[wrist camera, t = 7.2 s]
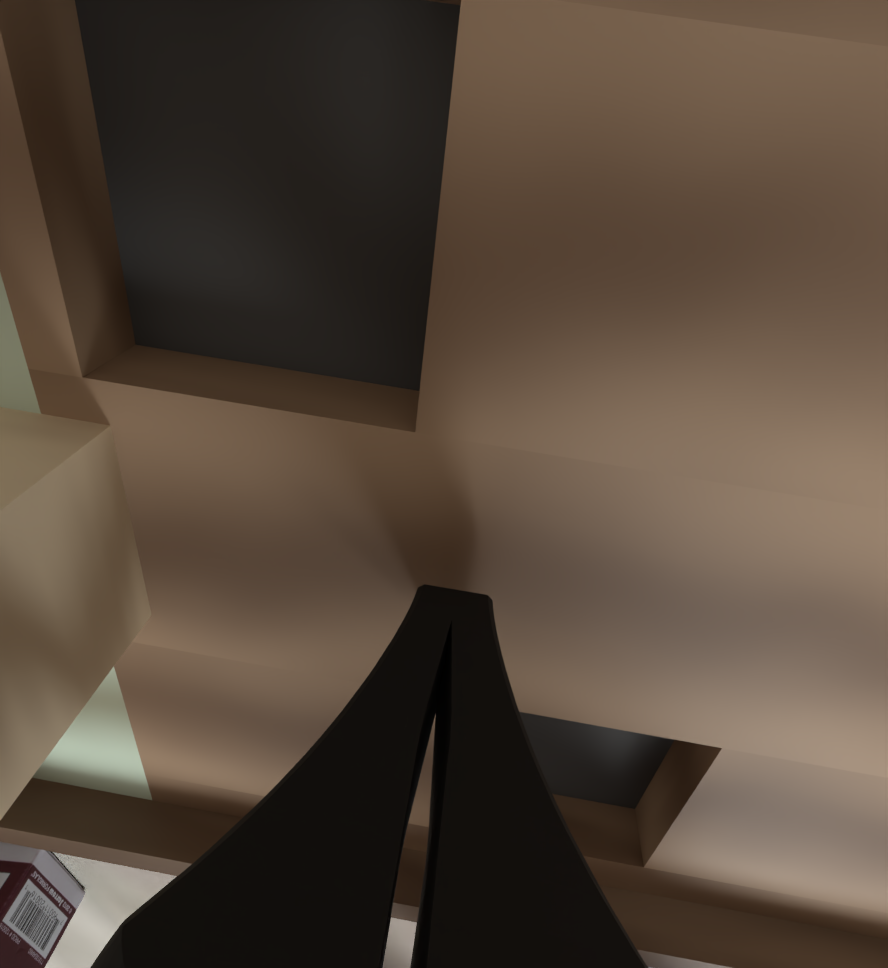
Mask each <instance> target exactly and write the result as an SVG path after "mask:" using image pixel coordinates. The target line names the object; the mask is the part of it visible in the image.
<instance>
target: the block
mask: <svg viewBox="0 0 888 968" xmlns="http://www.w3.org/2000/svg"><path fill="white" fill-rule="evenodd" d="M150 616H151V610H150V605H149V601H148V596H147V591H146V587H145V582H144V578H143V573H142V568H141V564H140V559H139V555H138V550H137V545H136V541H135V536H134V532H133V527H132V522H131V518H130V513H129V509H128V504H127V499H126V495H125V490H124V486H123V481H122V476H121V472H120V467H119V462H118V458H117V453H116V449H115V444H114V439H113V435H112V430H111V426H110V425H104V424H98V423H92V422H86V421H80V420H75V419H69V418H63V417H57V416H51V415H45V414H39V413H33V412H27V411H21V410H15V409H9V408H3V407H0V820H1V819H2V818H3V816H4V815H5V813H6V812H7V811H8V809H9V808H10V807H11V805H12V804H13V803H14V801H15V800H16V799H17V797H18V796H19V794H20V793H21V792H22V790H23V789H24V788H25V786H26V785H27V784H28V782H29V781H30V780H31V778H32V777H33V775H34V774H35V773H36V771H37V770H38V769H39V767H40V766H41V765H42V763H43V762H44V760H45V759H46V758H47V756H48V755H49V754H50V752H51V751H52V750H53V748H54V747H55V746H56V744H57V743H58V741H59V740H60V739H61V737H62V736H63V735H64V733H65V732H66V731H67V729H68V728H69V727H70V725H71V724H72V722H73V721H74V720H75V718H76V717H77V716H78V714H79V713H80V712H81V710H82V709H83V707H84V706H85V705H86V703H87V702H88V701H89V699H90V698H91V697H92V695H93V694H94V693H95V691H96V690H97V688H98V687H99V686H100V684H101V683H102V682H103V680H104V679H105V678H106V676H107V675H108V674H109V672H110V671H111V669H112V668H113V667H114V665H115V664H116V663H117V661H118V660H119V659H120V657H121V656H122V654H123V653H124V652H125V650H126V649H127V648H128V646H129V645H130V644H131V642H132V641H133V640H134V638H135V637H136V635H137V634H138V633H139V631H140V630H141V629H142V627H143V626H144V625H145V623H146V622H147V621H148V619H149V618H150Z"/></svg>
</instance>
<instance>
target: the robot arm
mask: <svg viewBox="0 0 888 968" xmlns="http://www.w3.org/2000/svg"><path fill="white" fill-rule="evenodd" d="M435 714H436V716H435ZM434 718H435V732H434V748H433V764H432V781H431V798H430V814H429V831H428V842H427V853H426V862H425V869H424V877H423V884H422V891H421V898H420V905H419V912H418V919H417V926H416V933H415V940H414V947H413V954H412V961H411V968H651V967H648V966H647V965H646V963H645V962H644V960H643V959H642V957H641V955H640V954H639V952H638V951H637V949H636V947H635V946H634V944H633V942H632V941H631V939H630V937H629V936H628V934H627V932H626V931H625V929H624V927H623V926H622V924H621V922H620V921H619V919H618V917H617V916H616V914H615V912H614V911H613V909H612V907H611V906H610V904H609V902H608V900H607V899H606V897H605V895H604V893H603V891H602V889H601V888H600V886H599V884H598V882H597V880H596V878H595V877H594V875H593V873H592V871H591V869H590V867H589V866H588V864H587V862H586V860H585V858H584V856H583V855H582V853H581V851H580V849H579V847H578V845H577V844H576V842H575V840H574V838H573V836H572V834H571V832H570V830H569V828H568V826H567V824H566V822H565V820H564V818H563V815H562V813H561V811H560V809H559V807H558V805H557V803H556V801H555V799H554V797H553V794H552V792H551V790H550V788H549V785H548V783H547V781H546V779H545V777H544V774H543V772H542V770H541V767H540V765H539V762H538V760H537V758H536V755H535V753H534V750H533V748H532V745H531V742H530V740H529V737H528V734H527V732H526V729H525V726H524V724H523V721H522V718H521V715H520V712H519V710H518V707H517V704H516V701H515V697H514V694H513V691H512V688H511V684H510V681H509V678H508V675H507V671H506V668H505V664H504V660H503V657H502V653H501V648H500V644H499V640H498V635H497V630H496V625H495V619H494V611H493V600H492V599H491V598H490V597H489V596H488V595H485V594H479V593H473V592H468V591H462V590H456V589H450V588H444V587H438V586H432V585H426V584H424V585H422V586H420V587H418V588H417V591H416V594H415V597H414V599H413V601H412V604H411V606H410V608H409V610H408V612H407V614H406V616H405V618H404V620H403V621H402V623H401V625H400V627H399V628H398V630H397V632H396V634H395V635H394V637H393V639H392V640H391V642H390V643H389V645H388V646H387V648H386V650H385V651H384V653H383V654H382V656H381V657H380V659H379V660H378V662H377V664H376V665H375V667H374V668H373V669H372V671H371V672H370V674H369V675H368V677H367V678H366V679H365V681H364V682H363V683H362V685H361V686H360V687H359V689H358V690H357V691H356V693H355V694H354V695H353V697H352V698H351V699H350V701H349V702H348V704H347V705H346V706H345V707H344V709H343V710H342V711H341V713H340V714H339V715H338V716H337V717H336V719H335V720H334V721H333V722H332V724H331V725H330V726H329V727H328V728H327V730H326V731H325V732H324V733H323V734H322V736H321V737H320V738H319V739H318V740H317V741H316V742H315V744H314V745H313V746H312V747H311V748H310V749H309V750H308V752H307V753H306V754H305V755H304V756H303V757H302V758H301V759H300V760H299V761H298V762H297V763H296V765H295V766H294V767H293V768H292V769H291V770H290V771H289V772H288V773H287V774H286V775H285V776H284V777H283V778H282V779H281V781H280V782H279V783H278V784H277V785H276V786H275V787H274V788H273V789H272V790H271V791H270V792H269V793H268V794H267V795H266V796H265V797H264V798H263V799H262V800H261V801H260V802H259V803H258V804H257V805H256V806H255V807H254V808H253V809H252V810H250V811H249V812H248V813H247V814H246V815H245V816H244V817H243V818H242V819H241V820H240V821H239V822H238V823H237V824H235V825H234V826H233V827H232V828H231V829H230V830H229V831H228V832H227V833H226V834H225V835H224V836H223V837H221V838H220V839H219V840H218V841H217V842H216V843H215V844H214V845H213V846H212V847H211V848H210V849H209V850H207V851H206V852H205V853H204V854H203V855H202V856H201V857H200V858H198V859H197V860H196V861H195V862H194V863H193V864H192V865H190V866H189V867H188V868H187V869H186V870H184V871H183V872H182V873H181V874H180V875H178V876H177V877H176V878H175V879H173V880H172V881H171V882H170V883H169V884H167V885H166V886H165V887H164V888H163V889H161V890H160V891H159V892H158V893H157V894H155V895H154V896H153V897H152V898H151V899H149V900H148V901H147V902H146V903H145V904H143V905H142V906H141V907H140V908H139V909H137V910H136V911H135V912H134V913H133V914H131V915H130V916H129V917H128V918H127V919H126V920H125V921H124V922H123V923H122V924H121V925H120V927H119V928H118V929H117V931H116V932H115V933H114V935H113V936H112V938H111V939H110V940H109V942H108V943H107V944H106V946H105V947H104V949H103V950H102V951H101V953H100V954H99V956H98V957H97V959H96V960H95V962H94V963H93V965H92V966H91V968H382V967H383V961H384V955H385V949H386V943H387V937H388V931H389V925H390V919H391V913H392V907H393V901H394V895H395V889H396V883H397V877H398V871H399V865H400V859H401V854H402V849H403V844H404V840H405V835H406V830H407V826H408V822H409V818H410V814H411V810H412V806H413V802H414V798H415V794H416V790H417V786H418V782H419V778H420V774H421V770H422V766H423V762H424V758H425V754H426V750H427V746H428V742H429V738H430V734H431V730H432V726H433V722H434Z"/></svg>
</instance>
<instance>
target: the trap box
mask: <svg viewBox="0 0 888 968" xmlns="http://www.w3.org/2000/svg"><path fill="white" fill-rule="evenodd" d="M0 407H3V408H9V409H15V410H21V411H27V412H33V413H39V414H45V415H51V416H57V417H63V418H69V419H75V420H80V421H86V422H92V423H98V424H104V425H110V426H111V430H112V435H113V439H114V444H115V449H116V453H117V458H118V462H119V467H120V472H121V476H122V481H123V486H124V490H125V495H126V499H127V504H128V509H129V513H130V518H131V522H132V527H133V532H134V536H135V541H136V545H137V550H138V555H139V559H140V564H141V568H142V573H143V578H144V582H145V587H146V591H147V596H148V601H149V605H150V610H151V616H150V618H149V619H148V621H147V622H146V623H145V625H144V626H143V627H142V629H141V630H140V631H139V633H138V634H137V635H136V637H135V638H134V640H133V641H132V642H131V644H130V645H129V646H128V648H127V649H126V650H125V652H124V653H123V654H122V656H121V657H120V659H119V660H118V661H117V663H116V664H115V665H114V667H113V668H112V669H111V671H110V672H109V674H108V675H107V676H106V678H105V679H104V680H103V682H102V683H101V684H100V686H99V687H98V688H97V690H96V691H95V693H94V694H93V695H92V697H91V698H90V699H89V701H88V702H87V703H86V705H85V706H84V707H83V709H82V710H81V712H80V713H79V714H78V716H77V717H76V718H75V720H74V721H73V722H72V724H71V725H70V727H69V728H68V729H67V731H66V732H65V733H64V735H63V736H62V737H61V739H60V740H59V741H58V743H57V744H56V746H55V747H54V748H53V750H52V751H51V752H50V754H49V755H48V756H47V758H46V759H45V760H44V762H43V763H42V765H41V766H40V767H39V769H38V770H37V771H36V773H35V774H34V775H33V777H32V778H31V780H30V781H29V782H28V784H27V785H26V786H25V788H24V789H23V790H22V792H21V793H20V794H19V796H18V797H17V799H16V800H15V801H14V803H13V804H12V805H11V807H10V808H9V809H8V811H7V812H6V813H5V815H4V816H3V818H2V819H1V820H0V842H4V843H9V844H15V845H20V846H25V847H30V848H35V849H40V850H46V851H51V852H56V853H61V854H66V855H71V856H77V857H82V858H87V859H92V860H97V861H103V862H108V863H113V864H118V865H123V866H128V867H134V868H139V869H144V870H149V871H154V872H160V873H165V874H170V875H175V876H178V875H180V874H181V873H182V872H183V871H184V870H186V869H187V868H188V867H189V866H190V865H192V864H193V863H194V862H195V861H196V860H197V859H198V858H200V857H201V856H202V855H203V854H204V853H205V852H206V851H207V850H209V849H210V848H211V847H212V846H213V845H214V844H215V843H216V842H217V841H218V840H219V839H220V838H221V837H223V836H224V835H225V834H226V833H227V832H228V831H229V830H230V829H231V828H232V827H233V826H234V825H235V824H237V823H238V822H239V821H240V820H241V819H242V818H243V817H244V816H245V815H246V814H247V813H248V812H249V811H250V810H252V809H253V808H254V807H255V806H256V805H257V804H258V803H259V802H260V801H261V800H262V799H263V798H264V797H265V796H266V795H267V794H268V793H269V792H270V791H271V790H272V789H273V788H274V787H275V786H276V785H277V784H278V783H279V782H280V781H281V779H282V778H283V777H284V776H285V775H286V774H287V773H288V772H289V771H290V770H291V769H292V768H293V767H294V766H295V765H296V763H297V762H298V761H299V760H300V759H301V758H302V757H303V756H304V755H305V754H306V753H307V752H308V750H309V749H310V748H311V747H312V746H313V745H314V744H315V742H316V741H317V740H318V739H319V738H320V737H321V736H322V734H323V733H324V732H325V731H326V730H327V728H328V727H329V726H330V725H331V724H332V722H333V721H334V720H335V719H336V717H337V716H338V715H339V714H340V713H341V711H342V710H343V709H344V707H345V706H346V705H347V704H348V702H349V701H350V699H351V698H352V697H353V695H354V694H355V693H356V691H357V690H358V689H359V687H360V686H361V685H362V683H363V682H364V681H365V679H366V678H367V677H368V675H369V674H370V672H371V671H372V669H373V668H374V667H375V665H376V664H377V662H378V660H379V659H380V657H381V656H382V654H383V653H384V651H385V650H386V648H387V646H388V645H389V643H390V642H391V640H392V639H393V637H394V635H395V634H396V632H397V630H398V628H399V627H400V625H401V623H402V621H403V620H404V618H405V616H406V614H407V612H408V610H409V608H410V606H411V604H412V601H413V599H414V597H415V594H416V591H417V588H418V587H420V586H422V585H424V584H426V585H432V586H438V587H444V588H450V589H456V590H462V591H468V592H473V593H479V594H485V595H488V596H489V597H490V598H491V599H492V600H493V611H494V619H495V625H496V630H497V635H498V640H499V644H500V648H501V653H502V657H503V660H504V664H505V668H506V671H507V675H508V678H509V681H510V684H511V688H512V691H513V694H514V697H515V701H516V704H517V707H518V710H519V712H520V715H521V718H522V721H523V724H524V726H525V729H526V732H527V734H528V737H529V740H530V742H531V745H532V748H533V750H534V753H535V755H536V758H537V760H538V762H539V765H540V767H541V770H542V772H543V774H544V777H545V779H546V781H547V783H548V785H549V788H550V790H551V792H552V794H553V797H554V799H555V801H556V803H557V805H558V807H559V809H560V811H561V813H562V815H563V818H564V820H565V822H566V824H567V826H568V828H569V830H570V832H571V834H572V836H573V838H574V840H575V842H576V844H577V845H578V847H579V849H580V851H581V853H582V855H583V856H584V858H585V860H586V862H587V864H588V866H589V867H590V869H591V871H592V873H593V875H594V877H595V878H596V880H597V882H598V884H599V886H600V888H601V889H602V891H603V893H604V895H605V897H606V899H607V900H608V902H609V904H610V906H611V907H612V909H613V911H614V912H615V914H616V916H617V917H618V919H619V921H620V922H621V924H622V926H623V927H624V929H625V931H626V932H627V934H628V936H629V937H630V939H631V941H632V942H633V944H634V946H635V947H636V949H637V951H638V952H639V954H640V955H641V957H642V959H643V960H644V962H645V963H646V965H647V966H648V967H651V968H888V0H0ZM435 716H436V714H435ZM434 732H435V718H434V722H433V726H432V730H431V734H430V738H429V742H428V746H427V750H426V754H425V758H424V762H423V766H422V770H421V774H420V778H419V782H418V786H417V790H416V794H415V798H414V802H413V806H412V810H411V814H410V818H409V822H408V826H407V830H406V835H405V840H404V844H403V849H402V854H401V859H400V865H399V871H398V877H397V883H396V889H395V895H394V901H393V907H392V913H391V917H393V918H398V919H403V920H408V921H413V922H417V919H418V912H419V905H420V898H421V891H422V884H423V877H424V869H425V862H426V853H427V842H428V831H429V814H430V798H431V781H432V764H433V748H434Z"/></svg>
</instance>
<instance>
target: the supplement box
mask: <svg viewBox="0 0 888 968" xmlns="http://www.w3.org/2000/svg"><path fill="white" fill-rule="evenodd" d="M84 895H85V891H84V889H83V888H81V886H80V885H79V884H78V883H77V881H76V880H75V879H74V878H73V877H72V875H71V874H70V873H69V872H68V871H67V870H66V869H65V867H64V866H63V865H62V864H61V863H60V862H59V861H58V859H57V858H56V857H55V856H54V855H53V854H52V853H51V852H50V851H46V850H40V849H35V848H30V847H25V846H20V845H15V844H9V843H4V842H0V968H44V967H45V966H46V964H47V962H48V960H49V959H50V957H51V955H52V953H53V951H54V950H55V948H56V946H57V944H58V942H59V940H60V939H61V937H62V935H63V933H64V931H65V929H66V927H67V926H68V924H69V922H70V920H71V918H72V917H73V915H74V913H75V911H76V909H77V908H78V906H79V904H80V902H81V901H82V899H83V897H84Z"/></svg>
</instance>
